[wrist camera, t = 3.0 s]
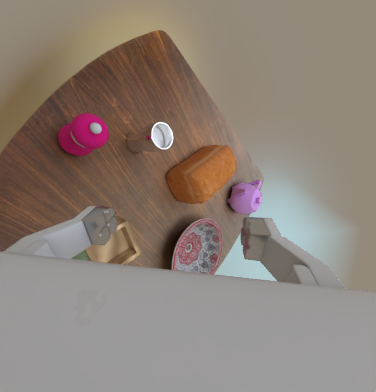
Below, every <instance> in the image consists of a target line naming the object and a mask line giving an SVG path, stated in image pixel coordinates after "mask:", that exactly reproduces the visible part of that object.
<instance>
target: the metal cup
mask: <svg viewBox="0 0 376 392" xmlns="http://www.w3.org/2000/svg"><path fill="white" fill-rule="evenodd" d="M172 143H173V133H172V130H171V128H170V127H169V126H168V125H167V124H166V123H163V122H158V123H154V124H150V125H147V126H145V127H144V128H142V129H141V130H140V131H139V132H138V133H131V134H129V136H128V137H127V146H128V148H129V149H130V150H131V151H132V152H134V153H140V152H142V151H148V152H157V151H162V150H165V149H168V148H169V147H170V146H171V145H172Z"/></svg>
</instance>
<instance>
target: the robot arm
mask: <svg viewBox="0 0 376 392" xmlns="http://www.w3.org/2000/svg"><path fill="white" fill-rule="evenodd" d="M115 213H116V212H115V209H114V208H113V207H103V206H88V207H87V208H86V209H85V210H83V211H82V212H81V213H80V214H79V215H77V216H76V217H75V218H74V219H72V220H68V221H65V222H62V223H60V224H57V225H54V226H52V227H49V228H47V229H44V230H41V231H39V232H36V233H33V234H31V235H28V236H26V237H23V238H22V239H20V240H19V241H17V242H16V243H15V244H13V245H12V246H10V247H9V248H8V249H6V250H5V251H0V392H376V292H369V291H360V290H351V289H345V288H344V287H343V286H342V284H341V283H340V281H339V280H338V279H337V277H336V276H335V274H334V273H333V272H332V270H331V269H330V267H328V266H327V265H325V264H324V263H322V262H321V261H319V260H318V259H316V258H315V257H313V256H312V255H310V254H309V253H307V252H306V251H304V250H303V249H301V248H300V247H299V246H297V245H296V244H294V243H293V242H291V241H290V240H288V239H287V238H285V237H282V236H281V234H280V232H279V231H278V229H277V227H276V225H275V223H274V222H273V219H272V218H254V217H244V219H243V226H244V227H243V228H242V229H241V243H242V245H243V253H244V258H245V259H248V260H256V261H261V263H262V264H263V265H264V266H265V267H266V269H267V270H268V271H269V272H270V273H271V274H272V275H273V276H274V278H275V279H276V280H277V281H278V282H277V281H267V280H258V279H249V278H240V277H231V276H222V275H213V274H204V273H195V272H185V271H176V270H167V269H158V268H149V267H140V266H131V265H122V264H112V263H103V262H94V261H84V260H75V259H71V258H73V257H74V256H76V255H78V254H79V253H81V252H82V251H84V250H85V249H87V248H88V247H90V246H91V245H106V243H107V242H108V241H109V239H110V238H111V237H110V235H111V234H113V233H115V231H116V230H117V227H118V220H117V218H116V217H115V216H114V215H115Z"/></svg>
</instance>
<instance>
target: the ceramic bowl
mask: <svg viewBox="0 0 376 392" xmlns="http://www.w3.org/2000/svg"><path fill="white" fill-rule="evenodd" d="M188 244H189V245H190V249H189V250H188V251H186V246H187V245H188ZM221 251H222V234H221V230H220V228H219V226H218V225H217V223H216V222H214V221H213V220H211V219H207V218H204V219H199V220H197V221H195V222H193V223H192V224H191V225H190V226H188V227H187V229H186V230H185V231H184V232H183V233H182V234H181V236H180V237H179V239H178V241H177V243H176V245H175V248H174V252H173V258H172V270H176V271H185V272H195V273H204V274H213V272H214V270H215V269H216V267H217V264H218V262H219V259H220V256H221Z"/></svg>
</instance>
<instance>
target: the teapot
mask: <svg viewBox="0 0 376 392" xmlns="http://www.w3.org/2000/svg"><path fill="white" fill-rule="evenodd" d="M254 184H258V185H257V187H256V188H255V187H254V186H252V185H254ZM260 186H261V180H256V181H253V182H251V183H249V184H247V183H242V182H241V183H239V184H237V185H236V186H233V187H232V194H231V198H229V199H228V203H230V205H231V207H232V208H233V209H234V211H236V212H237V213H240V214H248V213H252V212H255V211H257V210H258V208H259V205H260V204H261V202H262V198H261V192H260V191H259V190H258V189H259V188H260Z"/></svg>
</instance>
